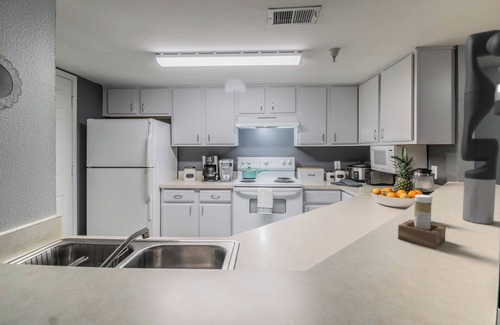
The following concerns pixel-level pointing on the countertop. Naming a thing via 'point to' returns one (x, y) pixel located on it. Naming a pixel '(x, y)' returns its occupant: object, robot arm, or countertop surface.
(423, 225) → the sprinkles bottle
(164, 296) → the countertop surface
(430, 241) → the box
